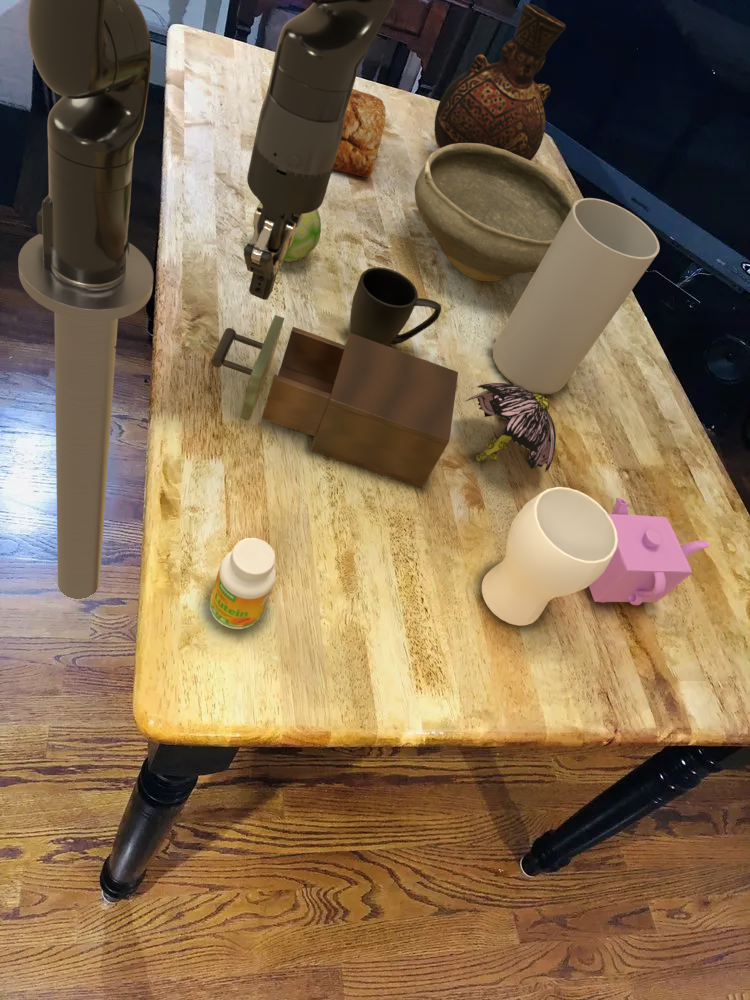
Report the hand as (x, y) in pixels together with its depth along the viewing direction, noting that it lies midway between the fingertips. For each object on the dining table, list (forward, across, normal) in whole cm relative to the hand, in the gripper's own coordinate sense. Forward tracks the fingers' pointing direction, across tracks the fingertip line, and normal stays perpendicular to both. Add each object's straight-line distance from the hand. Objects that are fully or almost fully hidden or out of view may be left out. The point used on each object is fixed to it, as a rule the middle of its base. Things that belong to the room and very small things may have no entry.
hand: (259, 293), depth 83 cm
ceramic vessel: (+17, -80, +18) cm, 84 cm away
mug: (+16, -20, +15) cm, 29 cm away
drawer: (+14, -1, +6) cm, 16 cm away
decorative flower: (+16, -8, +35) cm, 39 cm away
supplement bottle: (+15, +29, +11) cm, 34 cm away
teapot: (+15, +5, +52) cm, 54 cm away
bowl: (+16, -51, +24) cm, 58 cm away
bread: (+17, -68, -9) cm, 70 cm away
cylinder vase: (+16, -29, +37) cm, 49 cm away
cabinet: (+15, -2, +18) cm, 24 cm away
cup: (+15, +14, +40) cm, 45 cm away
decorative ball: (+16, -30, -4) cm, 35 cm away
